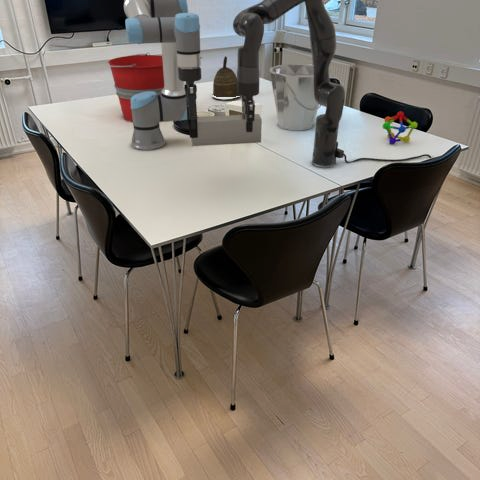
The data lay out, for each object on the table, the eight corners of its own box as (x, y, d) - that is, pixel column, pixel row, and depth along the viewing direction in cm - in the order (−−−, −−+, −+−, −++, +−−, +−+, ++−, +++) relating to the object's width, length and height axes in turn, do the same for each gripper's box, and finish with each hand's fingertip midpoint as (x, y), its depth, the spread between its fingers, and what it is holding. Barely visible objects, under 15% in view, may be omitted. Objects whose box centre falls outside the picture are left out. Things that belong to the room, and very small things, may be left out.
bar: (192, 146, 154) (190, 122, 150) (191, 140, 159) (189, 117, 154) (261, 142, 157) (261, 118, 152) (258, 137, 162) (258, 113, 157)
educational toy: (377, 146, 209) (379, 114, 202) (384, 138, 219) (386, 107, 211) (411, 149, 202) (415, 116, 195) (417, 141, 212) (420, 109, 204)
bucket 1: (122, 106, 262) (115, 52, 246) (181, 107, 261) (178, 52, 245) (105, 124, 232) (96, 64, 216) (172, 125, 231) (167, 64, 216)
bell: (227, 105, 294) (202, 96, 282) (238, 66, 289) (213, 55, 277) (243, 108, 280) (217, 98, 268) (255, 66, 275) (229, 55, 263)
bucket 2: (296, 138, 215) (301, 78, 201) (255, 124, 234) (256, 68, 219) (335, 125, 232) (342, 70, 217) (294, 113, 251) (297, 61, 236)
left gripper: (204, 75, 133) (206, 143, 145) (198, 59, 154) (200, 119, 165) (179, 76, 132) (183, 144, 144) (176, 59, 153) (180, 119, 164)
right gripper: (263, 84, 142) (262, 135, 151) (255, 74, 154) (254, 122, 163) (240, 85, 141) (240, 136, 150) (234, 75, 153) (234, 123, 162)
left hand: (192, 130), depth 155 cm, fingers open, 13 cm apart
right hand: (247, 128), depth 157 cm, fingers closed on bar, 5 cm apart
